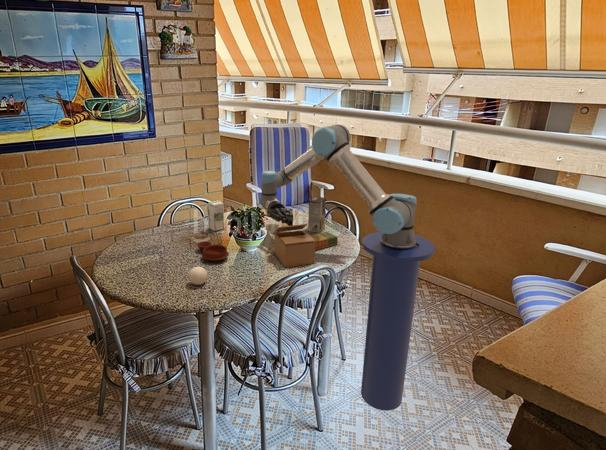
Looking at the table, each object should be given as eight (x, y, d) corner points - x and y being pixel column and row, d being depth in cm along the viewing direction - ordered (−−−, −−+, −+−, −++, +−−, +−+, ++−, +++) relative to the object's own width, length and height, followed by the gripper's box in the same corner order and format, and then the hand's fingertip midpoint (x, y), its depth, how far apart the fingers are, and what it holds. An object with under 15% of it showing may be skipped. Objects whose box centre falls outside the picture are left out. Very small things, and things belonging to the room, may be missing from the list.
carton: (299, 246, 189) (299, 237, 187) (326, 239, 197) (326, 230, 195) (310, 252, 182) (310, 243, 181) (337, 244, 190) (338, 235, 188)
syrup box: (218, 226, 216) (217, 199, 211) (224, 229, 211) (223, 202, 207) (209, 228, 213) (207, 201, 208) (214, 231, 208) (213, 204, 204)
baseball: (212, 282, 156) (211, 266, 154) (197, 289, 151) (196, 273, 149) (200, 277, 161) (199, 261, 158) (185, 284, 155) (184, 268, 153)
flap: (274, 232, 178) (274, 231, 178) (302, 229, 181) (302, 228, 181) (278, 227, 171) (278, 226, 171) (307, 224, 174) (307, 223, 174)
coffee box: (313, 225, 215) (314, 196, 209) (325, 227, 212) (326, 197, 207) (307, 231, 207) (308, 200, 202) (319, 233, 204) (320, 202, 199)
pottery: (209, 266, 169) (208, 257, 168) (189, 251, 185) (189, 242, 184) (233, 260, 175) (233, 250, 174) (212, 245, 191) (212, 236, 190)
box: (274, 253, 182) (274, 231, 178) (301, 249, 185) (302, 228, 181) (285, 267, 168) (285, 244, 165) (314, 263, 171) (315, 240, 168)
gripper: (287, 214, 200) (305, 230, 178) (261, 216, 197) (276, 233, 175) (287, 199, 197) (305, 213, 176) (261, 201, 194) (276, 216, 172)
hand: (291, 223), depth 175 cm, fingers closed
